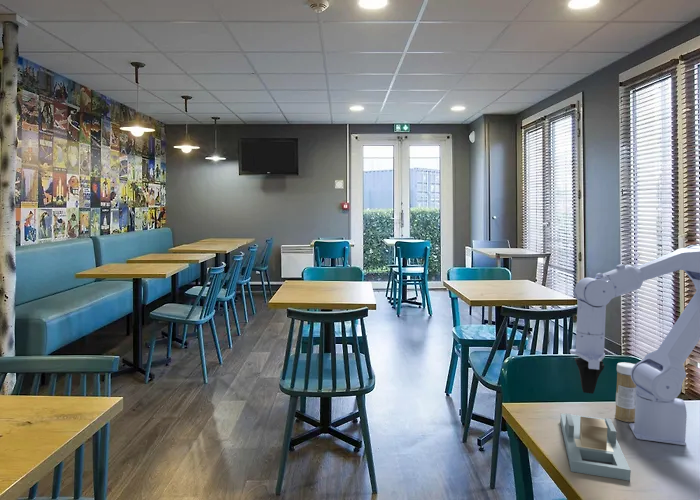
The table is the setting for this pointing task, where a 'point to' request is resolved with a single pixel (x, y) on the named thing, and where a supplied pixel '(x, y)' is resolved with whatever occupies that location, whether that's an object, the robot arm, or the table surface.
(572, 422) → the deck
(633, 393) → the sprinkles bottle
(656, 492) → the table surface
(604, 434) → the block
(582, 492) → the table surface
